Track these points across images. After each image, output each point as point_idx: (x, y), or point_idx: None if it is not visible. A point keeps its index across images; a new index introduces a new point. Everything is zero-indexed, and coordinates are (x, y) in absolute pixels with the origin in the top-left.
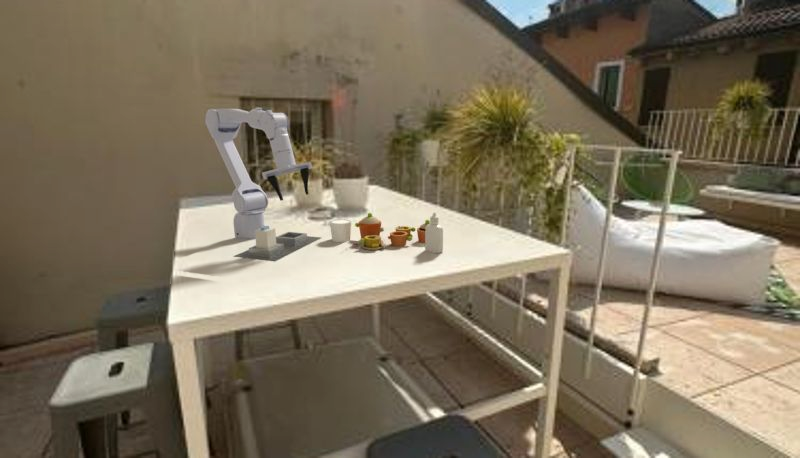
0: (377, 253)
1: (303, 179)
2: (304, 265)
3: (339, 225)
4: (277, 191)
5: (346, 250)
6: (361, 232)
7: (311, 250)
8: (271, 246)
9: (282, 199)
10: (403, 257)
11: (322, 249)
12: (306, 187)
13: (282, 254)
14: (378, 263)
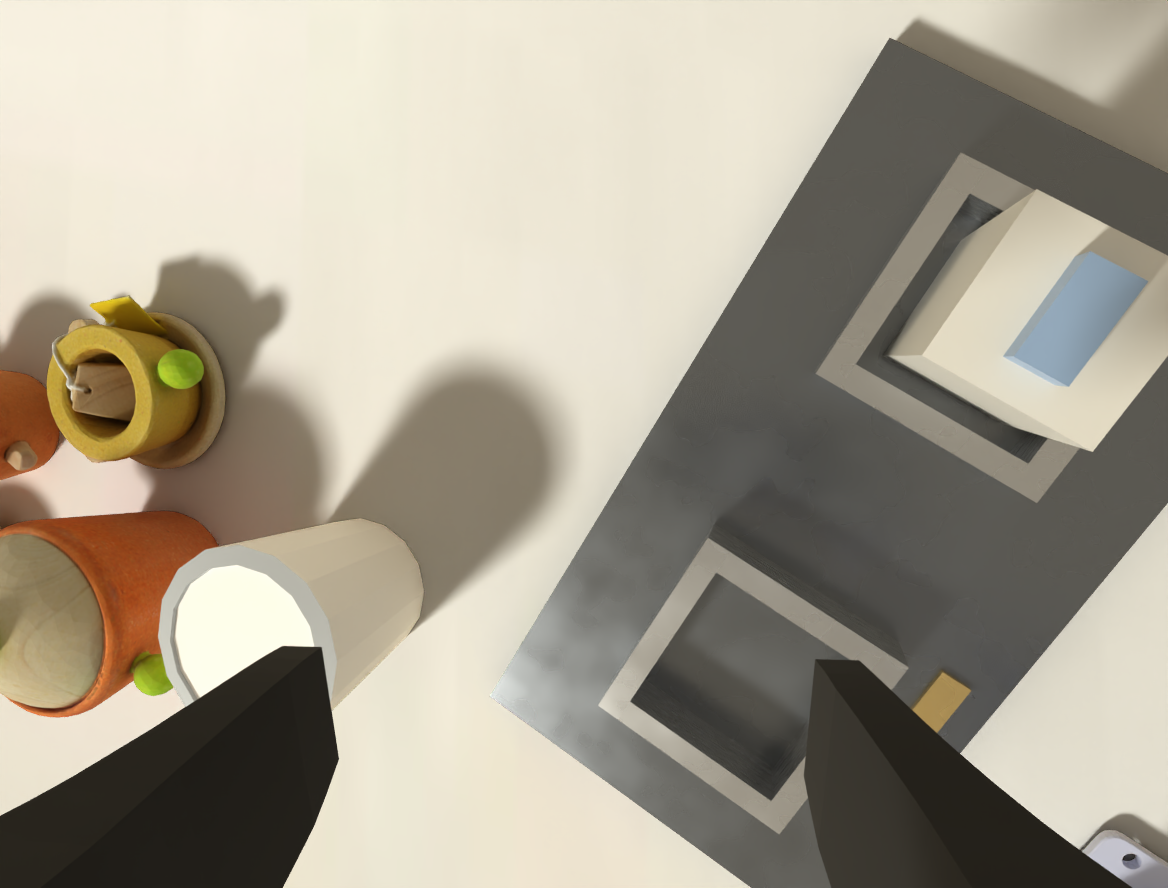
0: (148, 239)
1: (41, 856)
2: (638, 10)
3: (261, 547)
4: (957, 775)
5: (333, 358)
6: (167, 566)
7: (585, 420)
8: (942, 281)
9: (816, 680)
10: (15, 120)
11: (501, 427)
12: (192, 710)
13: (826, 246)
14: (153, 5)
